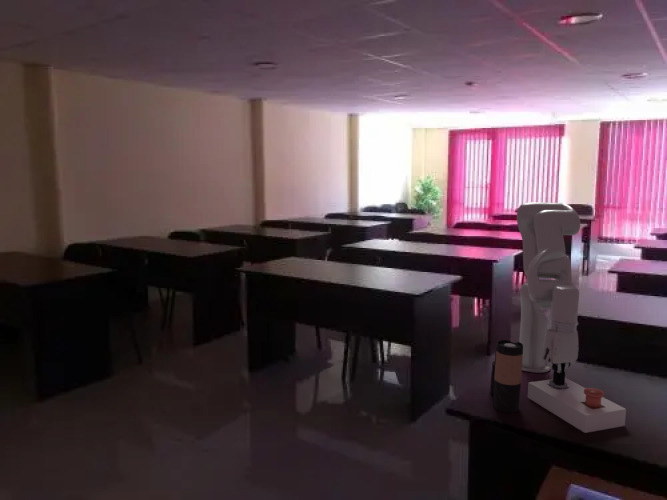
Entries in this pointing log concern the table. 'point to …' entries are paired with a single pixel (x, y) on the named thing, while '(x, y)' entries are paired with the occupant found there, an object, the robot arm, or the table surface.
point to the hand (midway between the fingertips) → (558, 383)
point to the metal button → (557, 385)
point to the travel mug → (508, 375)
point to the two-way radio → (493, 375)
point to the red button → (593, 397)
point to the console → (576, 406)
